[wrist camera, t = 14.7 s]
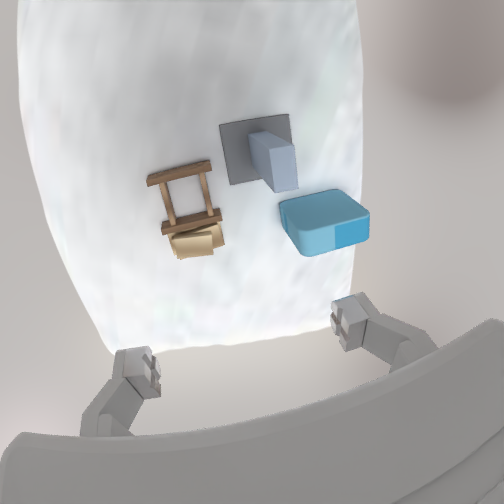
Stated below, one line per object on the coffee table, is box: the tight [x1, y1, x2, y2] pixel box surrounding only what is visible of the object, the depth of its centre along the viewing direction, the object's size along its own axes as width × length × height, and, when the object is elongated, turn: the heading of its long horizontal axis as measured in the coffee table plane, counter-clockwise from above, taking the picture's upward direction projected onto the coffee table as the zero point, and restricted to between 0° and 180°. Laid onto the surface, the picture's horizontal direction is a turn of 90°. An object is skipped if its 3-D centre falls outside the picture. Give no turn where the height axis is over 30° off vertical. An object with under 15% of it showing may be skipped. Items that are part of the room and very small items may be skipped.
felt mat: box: [219, 114, 292, 185], centre depth 44 cm, size 10×11×1 cm
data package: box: [280, 190, 370, 257], centre depth 47 cm, size 12×4×12 cm, turn 101°
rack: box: [146, 160, 223, 235], centre depth 45 cm, size 10×10×3 cm
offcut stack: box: [167, 222, 225, 260], centre depth 48 cm, size 5×9×4 cm, turn 99°
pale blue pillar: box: [248, 131, 298, 193], centre depth 38 cm, size 6×3×13 cm, turn 9°
